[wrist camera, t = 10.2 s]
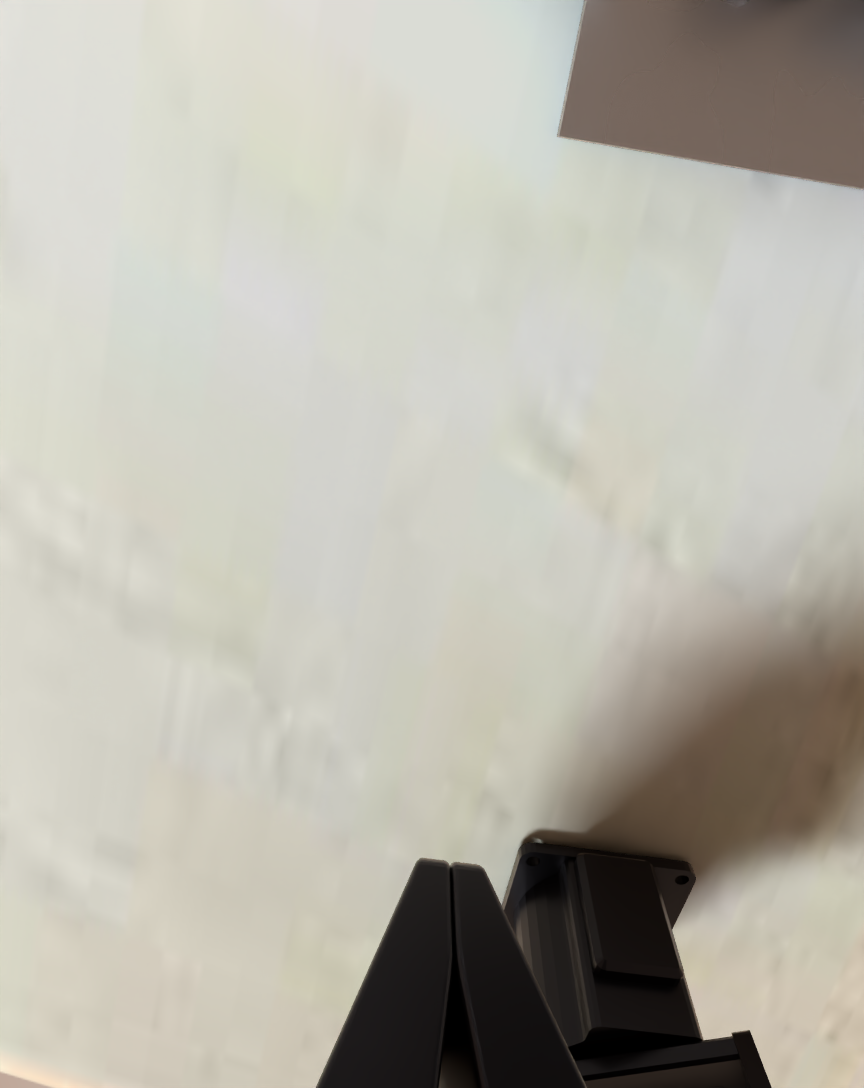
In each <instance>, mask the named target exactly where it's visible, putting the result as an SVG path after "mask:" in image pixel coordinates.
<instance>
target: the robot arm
mask: <svg viewBox="0 0 864 1088" xmlns="http://www.w3.org/2000/svg"><path fill="white" fill-rule="evenodd" d="M695 881H696V877H695V874H694V871H693V868H692V866H691V865H690V864H689V863H687V862H684V861H677V860H669V859H661V858H653V857H645V856H637V855H629V854H621V853H613V852H605V851H597V850H589V849H581V848H573V847H565V846H557V845H549V844H541V843H527V844H524V845H523V846H521V847H520V849H519V851H518V854H517V857H516V861H515V864H514V867H513V870H512V874H511V877H510V880H509V884H508V887H507V890H506V894H505V897H504V900H503V904H502V906H501V903H500V901H499V899H498V897H497V895H496V893H495V891H494V888H493V886H492V884H491V882H490V880H489V878H488V876H487V874H486V872H485V870H484V869H483V868H482V867H481V866H480V865H476V864H468V863H460V862H454V863H452V864H451V865H450V866H449V863H448V862H446V861H444V860H436V859H428V858H420V859H419V860H418V861H417V862H416V864H415V866H414V868H413V871H412V873H411V875H410V877H409V880H408V882H407V884H406V886H405V889H404V891H403V893H402V895H401V898H400V900H399V902H398V904H397V907H396V909H395V911H394V913H393V916H392V918H391V920H390V922H389V925H388V927H387V929H386V931H385V933H384V936H383V938H382V940H381V942H380V945H379V947H378V949H377V951H376V954H375V956H374V958H373V960H372V963H371V965H370V967H369V969H368V972H367V974H366V976H365V978H364V981H363V983H362V985H361V987H360V990H359V992H358V994H357V996H356V999H355V1001H354V1003H353V1005H352V1008H351V1010H350V1012H349V1014H348V1017H347V1019H346V1021H345V1023H344V1026H343V1028H342V1030H341V1032H340V1035H339V1037H338V1039H337V1041H336V1044H335V1046H334V1048H333V1050H332V1052H331V1055H330V1057H329V1059H328V1061H327V1064H326V1066H325V1068H324V1070H323V1073H322V1075H321V1077H320V1079H319V1082H318V1084H317V1086H316V1088H771V1085H770V1082H769V1080H768V1077H767V1074H766V1072H765V1069H764V1067H763V1064H762V1061H761V1059H760V1056H759V1053H758V1051H757V1048H756V1046H755V1043H754V1040H753V1038H752V1035H751V1033H750V1030H747V1031H740V1032H733V1033H732V1036H731V1037H725V1038H718V1039H711V1040H703V1037H702V1034H701V1030H700V1027H699V1023H698V1020H697V1016H696V1013H695V1009H694V1006H693V1003H692V999H691V996H690V992H689V989H688V985H687V982H686V978H685V975H684V970H683V966H682V963H681V960H680V956H679V953H678V949H677V946H676V942H675V939H674V935H673V932H672V929H673V927H674V924H675V922H676V920H677V918H678V916H679V914H680V912H681V910H682V908H683V906H684V904H685V902H686V900H687V898H688V896H689V894H690V892H691V890H692V887H693V885H694V883H695Z"/></svg>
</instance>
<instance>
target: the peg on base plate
mask: <svg viewBox="0 0 864 1088" xmlns="http://www.w3.org/2000/svg"><path fill="white" fill-rule="evenodd" d="M557 137H561V138H566V139H572V140H578V141H584V142H589V143H595V144H601V145H607V146H613V147H618V148H624V149H630V150H636V151H642V152H647V153H653V154H659V155H665V156H670V157H676V158H682V159H688V160H694V161H699V162H705V163H711V164H717V165H723V166H728V167H734V168H740V169H746V170H751V171H757V172H763V173H769V174H775V175H780V176H786V177H792V178H798V179H804V180H809V181H815V182H821V183H827V184H832V185H838V186H844V187H850V188H856V189H861V190H864V0H584V4H583V9H582V14H581V19H580V24H579V29H578V34H577V39H576V44H575V49H574V54H573V59H572V64H571V69H570V74H569V79H568V84H567V89H566V94H565V99H564V104H563V109H562V114H561V119H560V124H559V129H558V134H557Z"/></svg>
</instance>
